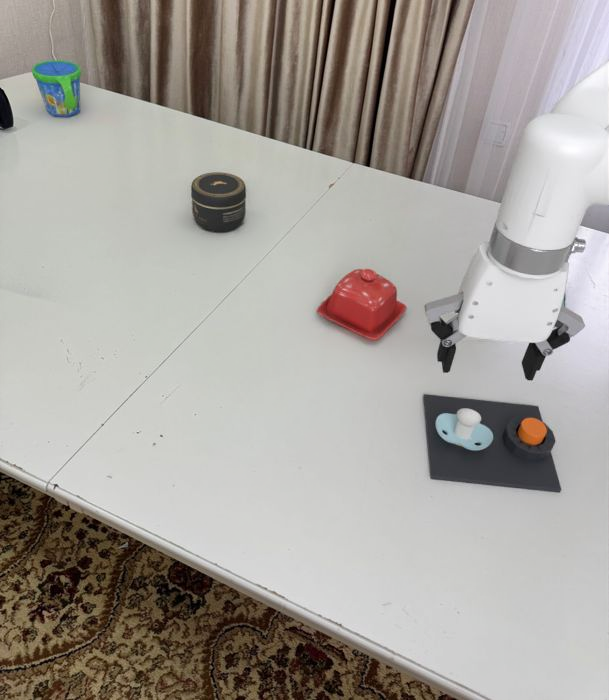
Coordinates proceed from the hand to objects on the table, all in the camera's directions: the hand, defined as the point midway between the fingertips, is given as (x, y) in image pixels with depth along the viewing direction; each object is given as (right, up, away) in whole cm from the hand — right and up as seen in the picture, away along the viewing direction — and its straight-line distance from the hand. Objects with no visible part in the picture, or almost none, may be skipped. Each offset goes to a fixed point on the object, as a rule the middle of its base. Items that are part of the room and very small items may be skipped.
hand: (485, 368), depth 73 cm
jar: (-38, +27, +44) cm, 64 cm away
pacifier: (-1, -9, +8) cm, 12 cm away
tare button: (+8, -9, +7) cm, 14 cm away
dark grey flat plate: (+3, -10, +8) cm, 13 cm away
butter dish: (-12, +8, +26) cm, 30 cm away
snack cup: (-79, +59, +76) cm, 125 cm away
